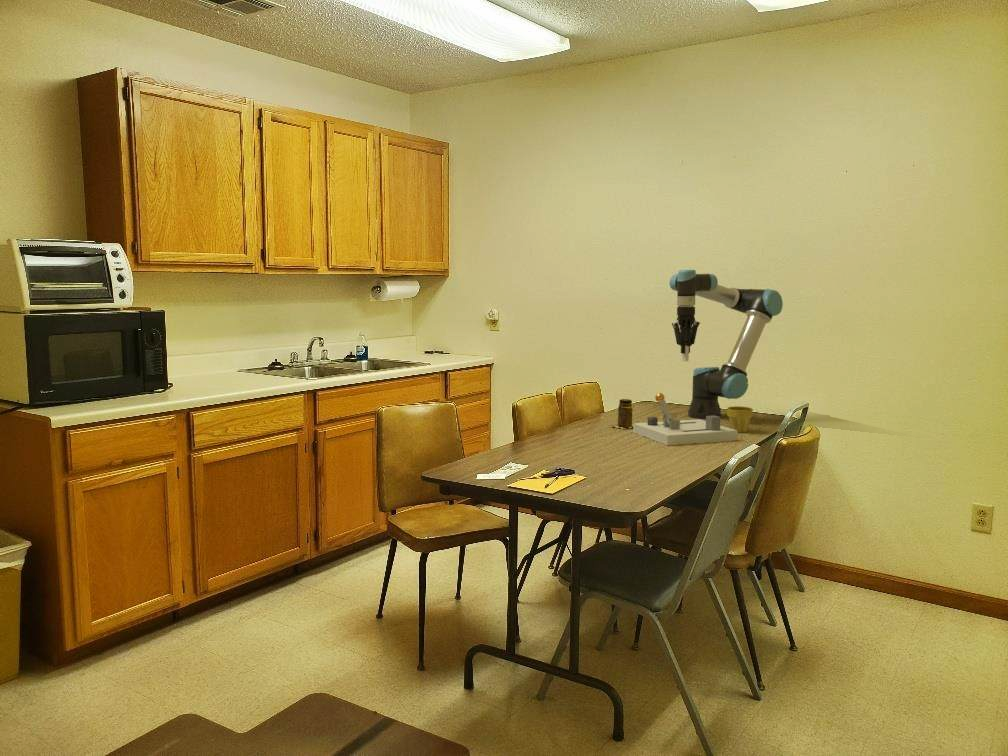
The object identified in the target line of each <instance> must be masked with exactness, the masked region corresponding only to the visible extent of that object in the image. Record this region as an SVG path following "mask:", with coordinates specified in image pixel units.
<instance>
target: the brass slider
mask: <svg viewBox="0 0 1008 756" xmlns="http://www.w3.org/2000/svg"><path fill="white" fill-rule="evenodd" d="M669 411H670V413H671V415H672V418H674V420H678V412H677V411H675V410H669ZM662 415H663V416H662V417H663V418H662V419H663V420H662V422H663V423H664V418H665V416H664V414H662Z"/></svg>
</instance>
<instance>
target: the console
mask: <svg viewBox="0 0 1008 756" xmlns="http://www.w3.org/2000/svg"><path fill="white" fill-rule="evenodd" d="M658 419H659V417H657V416H647V422H638V423H637V422H636V423H633V422H632V427H633V428H632V429H633V430H632V431H633V432H634V433H633V432H632V433H633V434H635V433H637V434H639V435H638V436H640V435H642V436H641V437H643V436H645V437H647V438H646V439H648V438H650V439H649V440H651V439H652V440H651V441H653V440H655V441H654V442H656V441H658V442H657V443H659V442H660V443H659V444H661V443H663V444H662V445H664V444H665V446H667V445H670V446H679V445H678V444H683V445H692V444H693V443H696V444H705V443H706V442H709V443H721V442H720V441H722V442H733V441H732V440H736V441H737V440H738V432H737V430H734V429H731V427H726V426H723V425H720V430H710V429H706V420H703V419H701V418H696V419H685V420H684V419H682V420H680V419H677V420H674V418H673V420H670V425H668V423H667V421H666V418H664V423H663V421H658ZM637 434H636V435H637ZM645 437H644V438H645ZM706 444H707V443H706ZM693 445H694V444H693Z"/></svg>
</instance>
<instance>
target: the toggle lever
mask: <svg viewBox="0 0 1008 756" xmlns="http://www.w3.org/2000/svg"><path fill="white" fill-rule="evenodd" d="M654 400H655V401H656V402H657V403H658V405H659V407H660V410H661V411H662V413H663V414H664V416H665V418H666V421H667V423H668V425H670V420H673V418H672V415H671V413H670V411H671V410H670V408H669V406H668V404H667V401H666V400H665V395H664V393H661V392H659V393H657V394H655V399H654ZM663 414H662V415H663Z"/></svg>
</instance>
